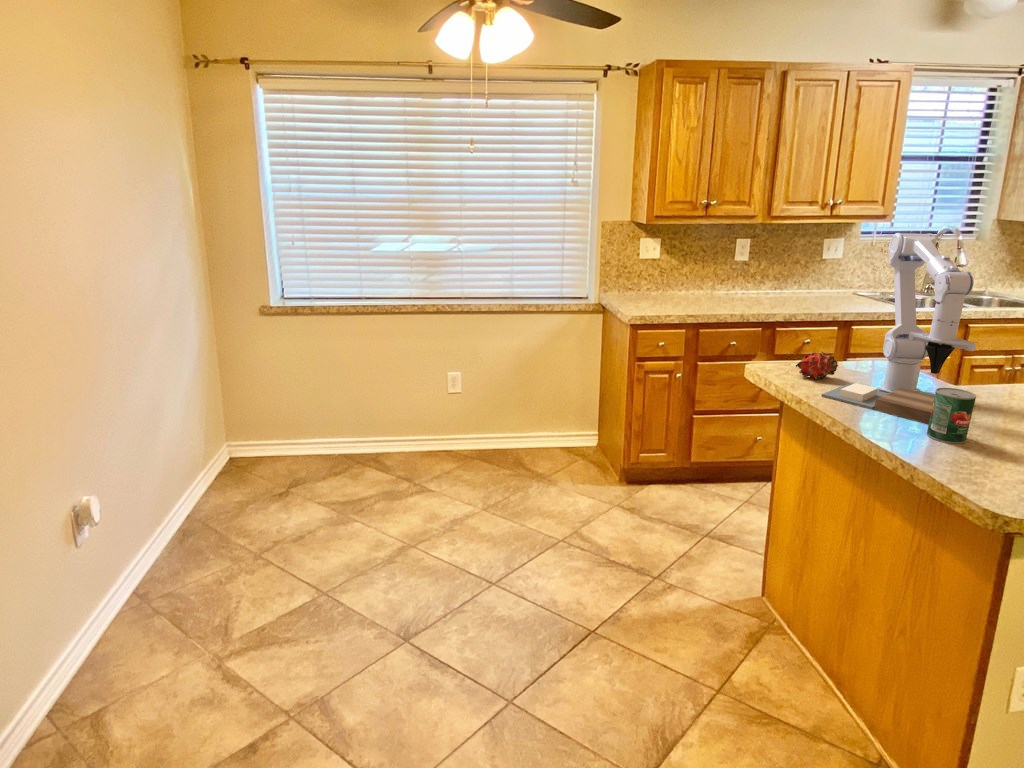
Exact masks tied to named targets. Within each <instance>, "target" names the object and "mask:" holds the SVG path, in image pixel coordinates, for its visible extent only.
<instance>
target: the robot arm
mask: <svg viewBox="0 0 1024 768" xmlns="http://www.w3.org/2000/svg"><path fill="white" fill-rule="evenodd" d="M936 246H937V238H936V237H935V236H934V234H933V233H929V232H928V233H901V232H896V233H894V234H893V236H892V237H891V239H890V241H889V244H888V260H889V266H891V267H893V276H894V277H893V278H894V279H893V280H894V281H893V282H894V283H893V284H894V316H895V319H894V320H895V322H894V323H895V326H893V328H890V329H889V330H888V331H887V332H886V333H885V334H884V340H883V341H884V342H883V347H882V352H883V356H884V357H885V358H886V359H887V366H886V369H885V377H884V381H883V385H881V386H879V387H877V388H878V390H877V391H881V392H886V393H891V392H893V391H895V390H897V389H900V388H906V389H910V390H915V391H919V392H921V388H917V386H918V382H919V377H920V373H921V366H920V364H921V363H922V361H923V360H925V359H926V357H927V356H928V358H929V365H930V366H929V367H930V374H935V375H938V374H939V373H940V371H941V369H942V367H943V366H944V364H945V362H946V361H947V359H948V358H949V357H950V355H951V354H952V353H953V352H954V351H955V349H959V350H960V349H961V350H967V351H968V352H975V350H976V348H977V343H978V342H974V341H969V340H966V339H962V338H957V335H958V331H959V327H960V326H959V325H960V321H961V317H962V312H963V309H964V303H965V299H966V296H969V294H971V292H972V291H973V288H974V282H975V281H974V276H973V275H972V274H973V273H972V272H971V271H964V270H960V268H959V267H958V266H957V265H956V264H955V263H954V261H953V260H952V259H951V257H950V256H949V255H943V254H941V253H940V252H939V250H938V249H937V247H936ZM925 264H926V267H925V269H926V273H927V274H928V275H929V276H930V277H931V279H932V280H933V281H934V301H935V306H934V309H933V316H932V321H931V326H930V330H929V333H926V331H924V329H922V328H921V327H920V326H918V325H917V306H916V305H917V304H916V300H917V297H916V276H915V275H916V273H915V272H916V270H917V269H918V268H920V267H922V266H924V265H925Z"/></svg>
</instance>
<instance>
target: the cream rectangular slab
mask: <svg viewBox="0 0 1024 768" xmlns="http://www.w3.org/2000/svg"><path fill="white" fill-rule="evenodd" d="M878 388H879V387H873V386H870V385H866V384H865V385H864V384H861V383H857V382H855V383H853V384H852V385H850V386H847V387H845V388H842V389H840V395H839V396H841V397H845V398H849V399H853V400H857V401H861V402H862V401H865V400H867V399H869V398H872V397H874V396H876V395H877V391H879V390H878Z"/></svg>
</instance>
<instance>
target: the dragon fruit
mask: <svg viewBox="0 0 1024 768" xmlns="http://www.w3.org/2000/svg"><path fill="white" fill-rule="evenodd" d="M821 353H822V354H821ZM821 353H817V352H814V351H813V352H811V354H805V356H804V357H803V358H802V359H801V360H800V361H799V362H797V364H796V365H795V368H797V367H798V369H800V370H799V374H801V376H804V377H807V376H810V377H809V378H814V379H815V380H818V379H821V380H822V379H826V377H827V376H828V375H829V376H833V375H835V372H836V371H837V369H838V367H839V365H838V360H836V359H835V357H834V356H831V355H830V354H829V355H827V354H826V353H825V352H823V351H821Z"/></svg>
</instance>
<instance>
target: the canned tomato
mask: <svg viewBox="0 0 1024 768" xmlns="http://www.w3.org/2000/svg"><path fill="white" fill-rule="evenodd" d="M934 395H935V397H934V402H933V406H932V411H931V416H930V421H929V424H927V425H928V426H927V431H926V436H927V437H929V438H930V439H932V440H934V441H937V442H941V443H946V444H954V445H955V444H956V445H958V444H959V445H960V444H964V443H966V442H967V437H968V433H969V428H970V424H971V419H972V415H973V412H974V407H975V403H976V398H977V395H976V394H975V393H973V392H971V391H968V390H965V389H960V388H953V387H939V388H936V389H935V393H934Z"/></svg>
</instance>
